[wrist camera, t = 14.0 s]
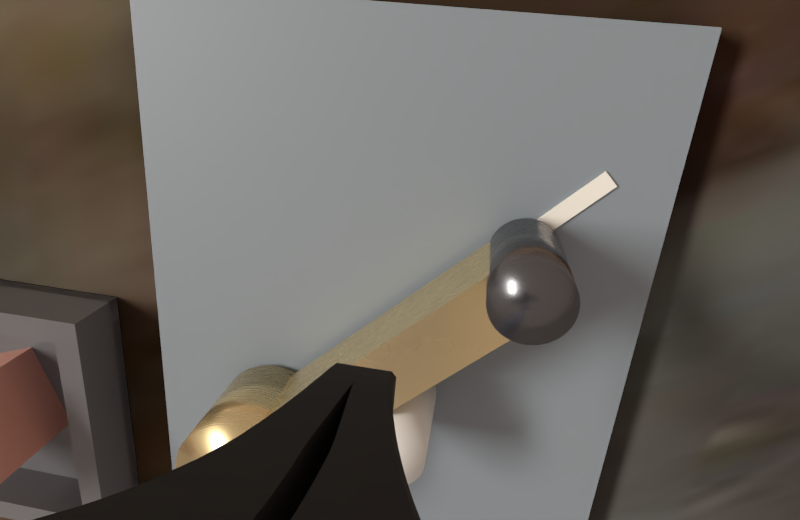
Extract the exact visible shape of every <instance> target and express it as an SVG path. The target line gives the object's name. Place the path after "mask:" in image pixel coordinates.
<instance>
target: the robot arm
mask: <svg viewBox="0 0 800 520" xmlns="http://www.w3.org/2000/svg"><path fill="white" fill-rule="evenodd" d="M395 385H396V376H395V375H394V374H393V372H392V371H386V370H379V369H373V368H367V367H361V366H354V365H348V364H342V363H336V364H334V365H333V366H332V367H330V368H329V369H328V370H327V371H325V372H324V373H323V374H322V375H321V376H319V377H318V378H317V379H316V380H314V381H313V382H312V383H311V384H310V385H308V386H307V387H306V388H305V389H303V390H302V391H301V392H300V393H298V394H297V395H296V396H294V397H293V398H292V399H291V400H289V401H288V402H287V403H285V404H284V405H283V406H281V407H280V408H279V409H277V410H276V411H275V412H273V413H272V414H270V415H269V416H268V417H266V418H265V419H263V420H262V421H260V422H259V423H257V424H256V425H254V426H253V427H251V428H250V429H248V430H247V431H245V432H244V433H242V434H241V435H239V436H238V437H236V438H234V439H232V440H231V441H229V442H227V443H226V444H224V445H222V446H220V447H218V448H216V449H215V450H213V451H211V452H209V453H207V454H205V455H204V456H202V457H200V458H198V459H196V460H193V461H191V462H189V463H187V464H185V465H183V466H180V467H178V468H176V469H174V470H172V471H169V472H167V473H165V474H163V475H161V476H159V477H156V478H154V479H152V480H149V481H147V482H145V483H142V484H139V485H137V486H134V487H132V488H129V489H127V490H124V491H121V492H119V493H116V494H113V495H110V496H107V497H105V498H102V499H99V500H96V501H93V502H90V503H87V504H84V505H81V506H78V507H74V508H71V509H67V510H64V511H61V512H57V513H54V514H50V515H47V516H43V517H40V518H36V519H33V520H421V519H420V517H419V514H418V511H417V509H416V506H415V504H414V501H413V498H412V495H411V492H410V489H409V486H408V483H407V480H406V476H405V473H404V469H403V465H402V461H401V457H400V453H399V449H398V444H397V438H396V432H395V425H394V418H393V407H394V396H395Z"/></svg>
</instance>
